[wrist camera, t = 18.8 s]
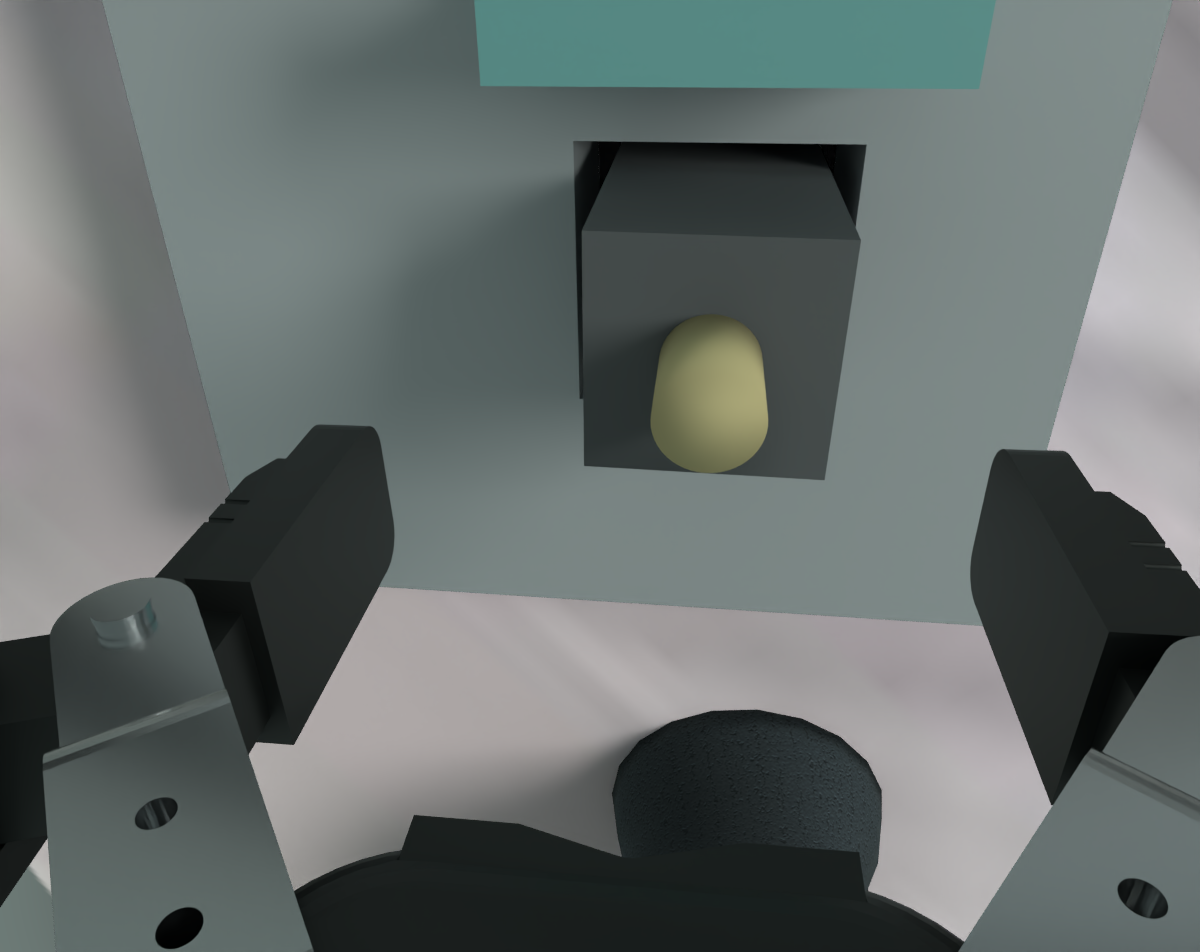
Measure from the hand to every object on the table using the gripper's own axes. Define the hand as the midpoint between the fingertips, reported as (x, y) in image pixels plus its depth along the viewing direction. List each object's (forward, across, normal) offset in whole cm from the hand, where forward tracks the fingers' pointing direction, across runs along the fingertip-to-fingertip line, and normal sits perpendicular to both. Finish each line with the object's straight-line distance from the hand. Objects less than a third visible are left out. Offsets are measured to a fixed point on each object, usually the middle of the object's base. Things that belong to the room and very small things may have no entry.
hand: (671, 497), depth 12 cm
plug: (+11, 0, -1) cm, 11 cm away
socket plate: (+11, +2, -1) cm, 11 cm away
